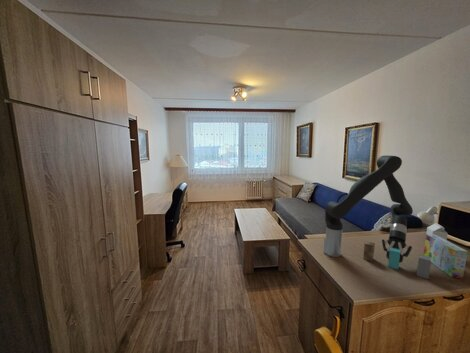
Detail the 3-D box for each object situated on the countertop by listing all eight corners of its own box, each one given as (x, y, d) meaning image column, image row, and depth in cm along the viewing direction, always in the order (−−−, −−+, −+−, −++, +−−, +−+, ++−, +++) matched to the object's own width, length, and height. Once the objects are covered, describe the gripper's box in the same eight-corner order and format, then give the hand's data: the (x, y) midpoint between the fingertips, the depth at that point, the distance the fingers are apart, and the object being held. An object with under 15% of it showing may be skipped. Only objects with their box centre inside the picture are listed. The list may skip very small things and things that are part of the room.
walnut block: (363, 258, 120) (364, 243, 119) (364, 256, 124) (366, 240, 122) (372, 261, 117) (373, 245, 116) (373, 258, 121) (374, 243, 119)
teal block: (388, 266, 112) (389, 249, 111) (388, 263, 116) (390, 247, 114) (398, 269, 109) (400, 252, 108) (398, 266, 113) (400, 249, 111)
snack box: (464, 279, 102) (469, 251, 100) (451, 277, 103) (455, 250, 101) (432, 257, 122) (435, 234, 120) (422, 256, 123) (425, 233, 121)
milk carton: (429, 253, 126) (433, 225, 124) (424, 248, 133) (427, 221, 131) (444, 256, 124) (448, 226, 121) (438, 250, 130) (442, 222, 128)
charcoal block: (416, 275, 104) (418, 257, 103) (416, 271, 108) (418, 254, 106) (428, 279, 101) (431, 260, 100) (428, 275, 105) (430, 257, 103)
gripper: (382, 226, 120) (378, 253, 113) (414, 233, 111) (411, 262, 103) (383, 232, 125) (378, 258, 118) (413, 239, 115) (410, 267, 108)
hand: (394, 260), depth 111 cm, fingers closed on teal block, 4 cm apart
